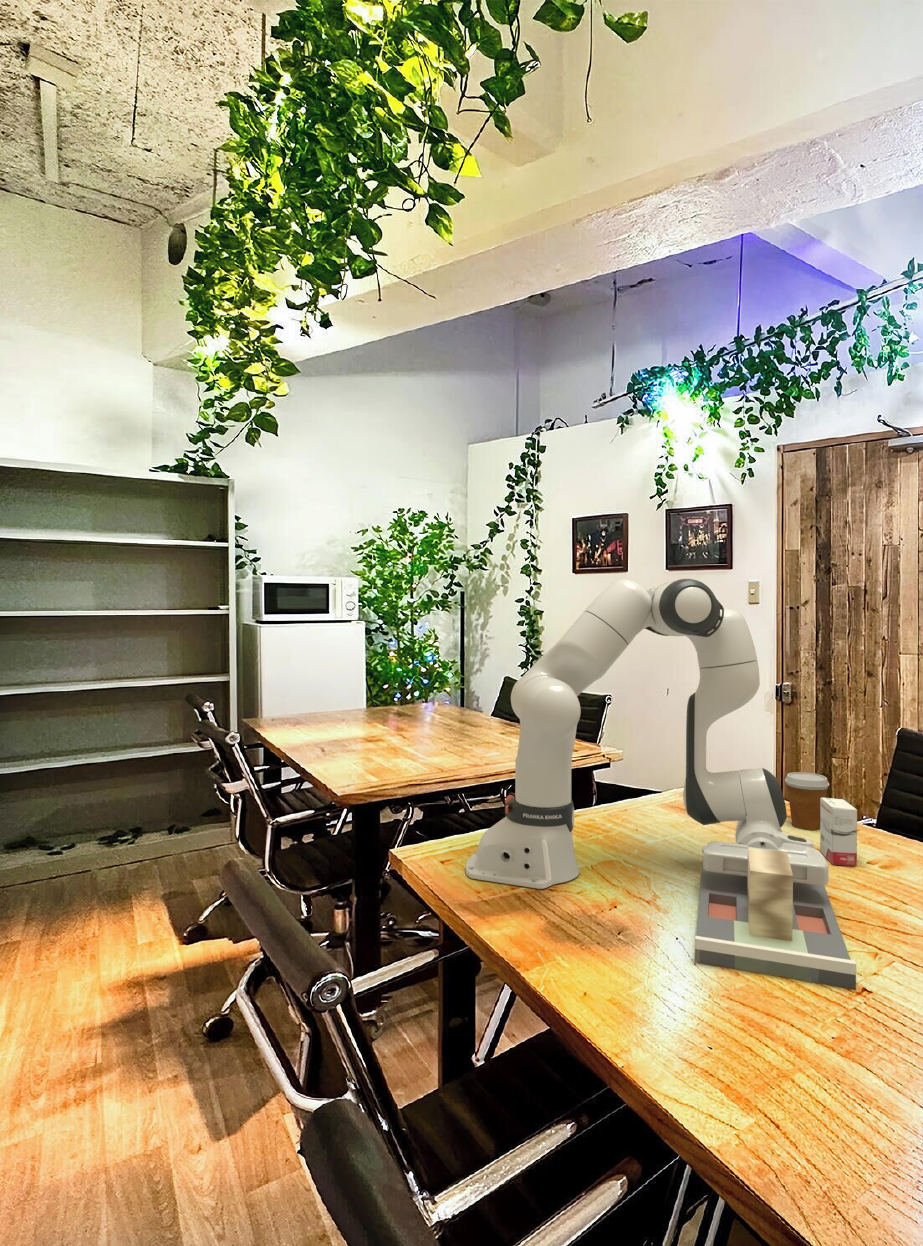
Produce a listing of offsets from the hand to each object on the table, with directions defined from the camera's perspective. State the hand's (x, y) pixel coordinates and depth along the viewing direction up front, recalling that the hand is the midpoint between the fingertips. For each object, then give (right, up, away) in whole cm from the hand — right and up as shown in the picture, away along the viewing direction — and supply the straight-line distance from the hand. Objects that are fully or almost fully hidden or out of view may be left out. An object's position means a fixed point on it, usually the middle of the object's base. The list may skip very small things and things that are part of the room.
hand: (765, 879), depth 117 cm
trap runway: (0, -7, 0) cm, 7 cm away
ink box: (+28, -7, +29) cm, 40 cm away
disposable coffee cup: (+32, -6, +50) cm, 60 cm away
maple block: (-2, -5, -5) cm, 7 cm away
